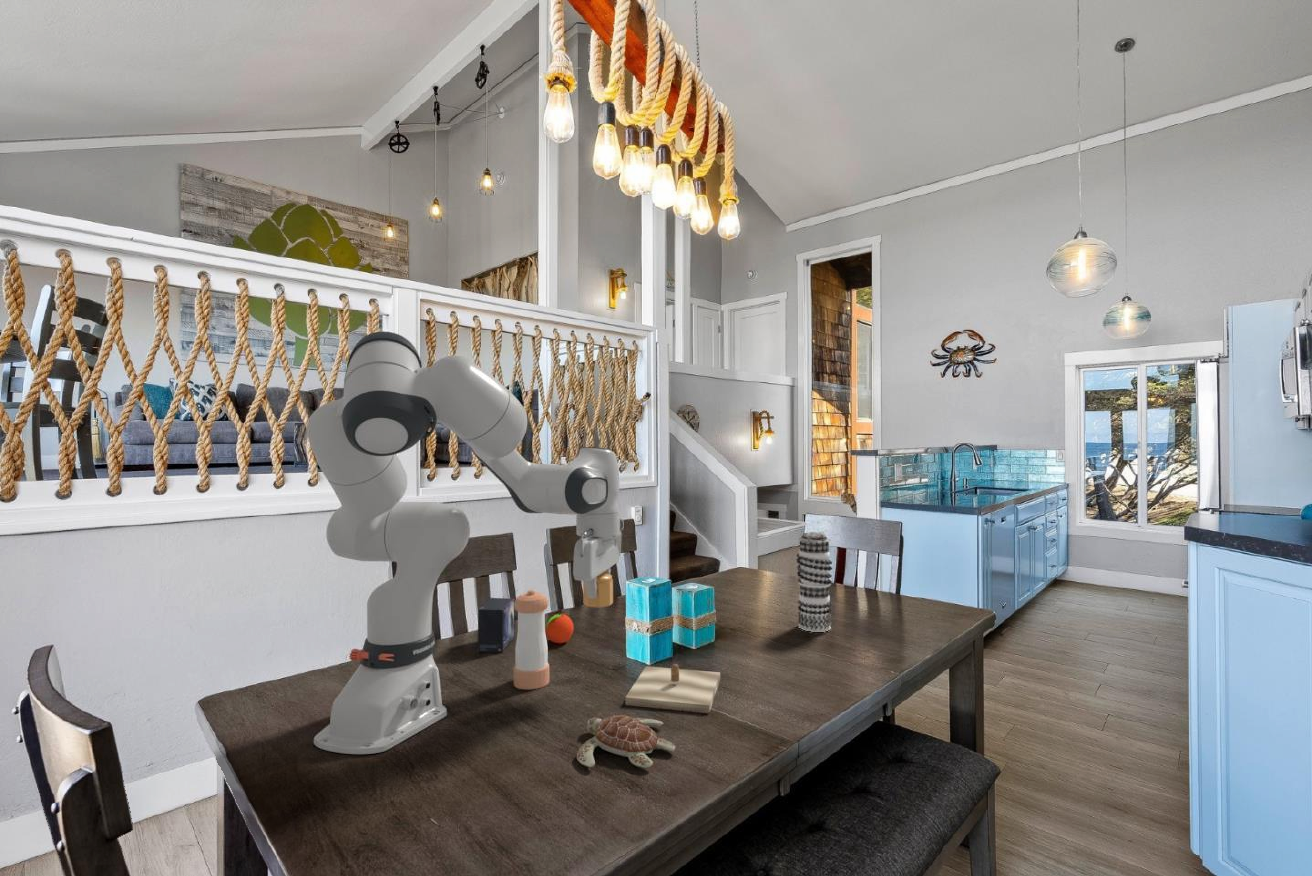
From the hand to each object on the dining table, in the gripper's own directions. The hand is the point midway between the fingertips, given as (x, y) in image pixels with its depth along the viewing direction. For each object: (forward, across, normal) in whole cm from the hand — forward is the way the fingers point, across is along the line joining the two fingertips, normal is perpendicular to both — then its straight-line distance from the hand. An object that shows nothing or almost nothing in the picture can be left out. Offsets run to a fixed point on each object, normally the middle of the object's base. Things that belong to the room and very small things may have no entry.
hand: (598, 593), depth 125 cm
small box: (+19, +17, +32) cm, 41 cm away
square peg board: (+19, 0, -16) cm, 25 cm away
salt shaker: (+19, -2, +14) cm, 24 cm away
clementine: (+19, +22, +18) cm, 34 cm away
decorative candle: (+19, +48, -44) cm, 68 cm away
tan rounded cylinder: (+2, 0, 0) cm, 2 cm away
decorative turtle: (+20, -23, -12) cm, 33 cm away
